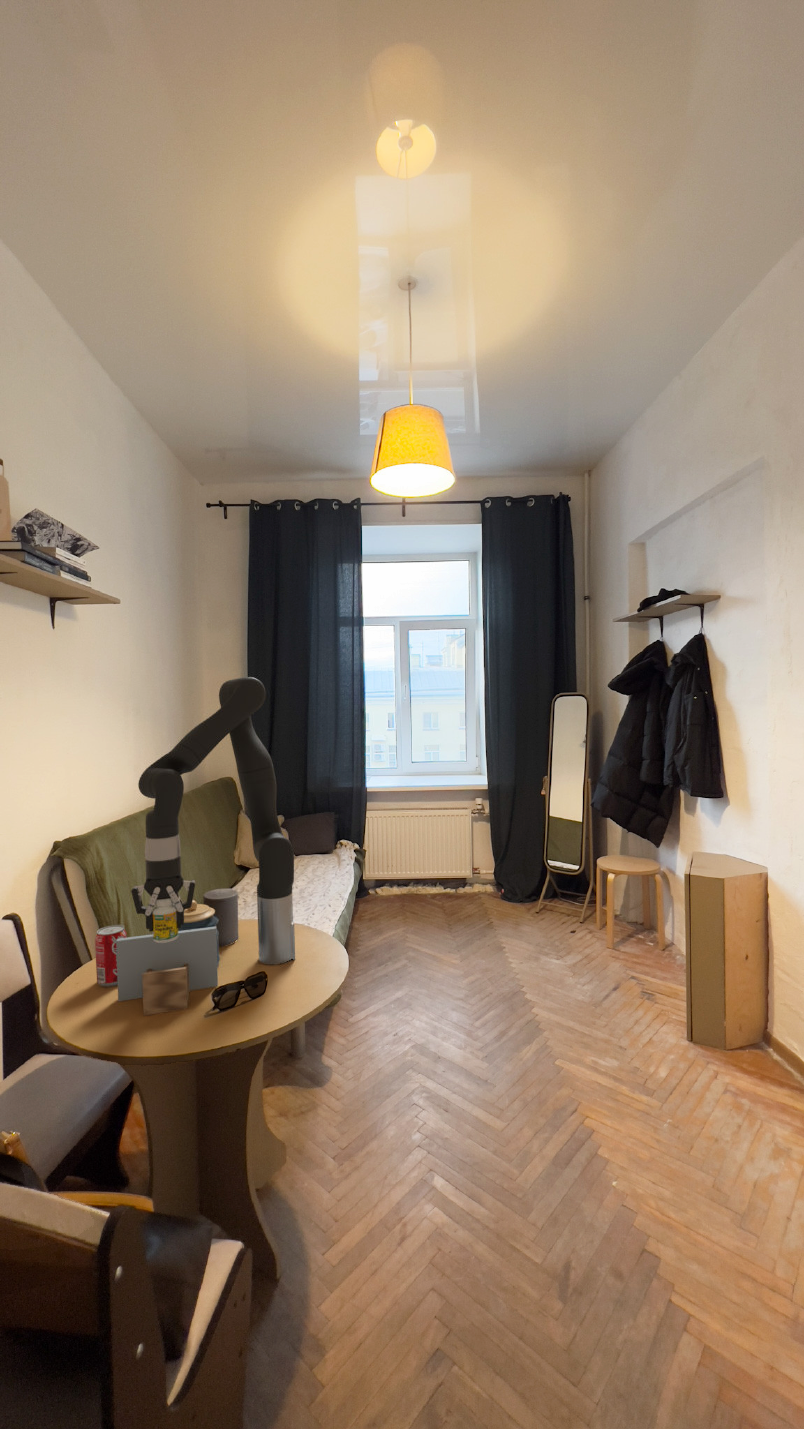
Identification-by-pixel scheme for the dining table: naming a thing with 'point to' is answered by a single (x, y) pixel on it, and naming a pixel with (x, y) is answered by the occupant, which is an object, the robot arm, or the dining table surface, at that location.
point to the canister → (200, 920)
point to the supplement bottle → (165, 921)
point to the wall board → (166, 960)
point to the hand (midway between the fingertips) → (165, 928)
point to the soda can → (107, 954)
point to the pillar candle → (224, 913)
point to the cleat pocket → (165, 990)
